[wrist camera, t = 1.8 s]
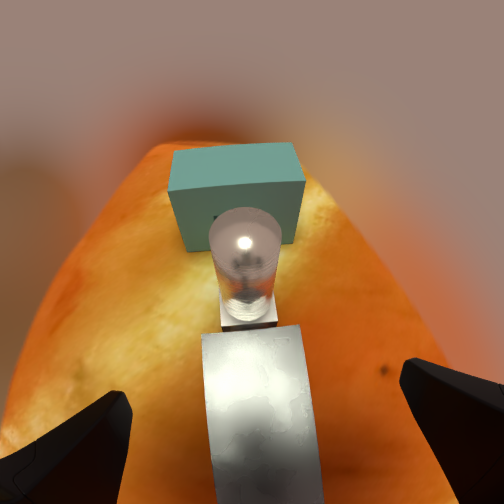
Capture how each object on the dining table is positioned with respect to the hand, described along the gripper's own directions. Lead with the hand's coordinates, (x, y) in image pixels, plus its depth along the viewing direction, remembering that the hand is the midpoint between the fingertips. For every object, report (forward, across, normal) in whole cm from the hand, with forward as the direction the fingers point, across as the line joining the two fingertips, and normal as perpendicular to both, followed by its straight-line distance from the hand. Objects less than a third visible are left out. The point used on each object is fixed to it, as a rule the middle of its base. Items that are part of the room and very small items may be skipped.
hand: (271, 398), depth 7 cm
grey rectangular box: (+8, 0, +10) cm, 13 cm away
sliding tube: (+10, 0, +7) cm, 12 cm away
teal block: (+21, 0, -3) cm, 21 cm away
